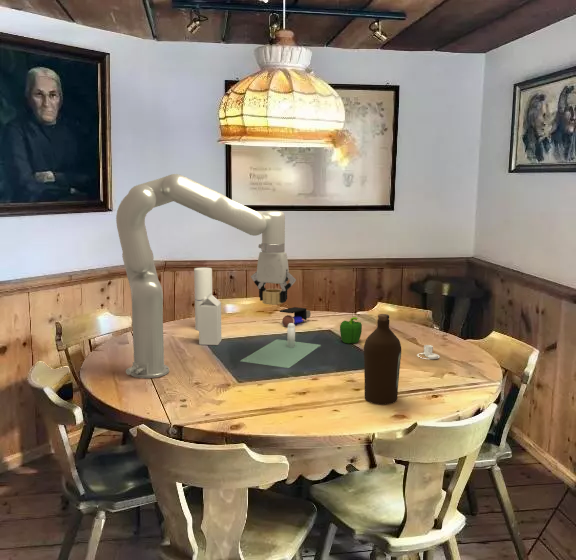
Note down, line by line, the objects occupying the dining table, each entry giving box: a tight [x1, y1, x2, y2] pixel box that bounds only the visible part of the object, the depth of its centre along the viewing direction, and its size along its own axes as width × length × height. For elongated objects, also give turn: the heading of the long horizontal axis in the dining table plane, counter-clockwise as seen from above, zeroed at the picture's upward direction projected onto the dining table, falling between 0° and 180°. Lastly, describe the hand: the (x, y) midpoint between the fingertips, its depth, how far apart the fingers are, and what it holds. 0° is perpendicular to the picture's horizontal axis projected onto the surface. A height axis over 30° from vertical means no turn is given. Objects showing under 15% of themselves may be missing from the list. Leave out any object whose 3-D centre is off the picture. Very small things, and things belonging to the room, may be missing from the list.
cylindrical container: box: [193, 267, 213, 332], centre depth 261 cm, size 7×7×25 cm
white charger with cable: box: [416, 344, 441, 360], centre depth 227 cm, size 9×8×4 cm
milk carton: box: [198, 291, 222, 346], centre depth 241 cm, size 7×7×19 cm
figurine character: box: [279, 306, 311, 328], centre depth 271 cm, size 7×8×15 cm
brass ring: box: [262, 288, 283, 306], centre depth 215 cm, size 7×7×4 cm
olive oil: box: [363, 313, 402, 405], centre depth 183 cm, size 11×11×25 cm
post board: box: [240, 323, 322, 369], centre depth 225 cm, size 30×18×10 cm, turn 157°
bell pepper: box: [339, 316, 363, 344], centre depth 244 cm, size 8×8×10 cm
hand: (273, 300), depth 215 cm, fingers closed on brass ring, 7 cm apart
